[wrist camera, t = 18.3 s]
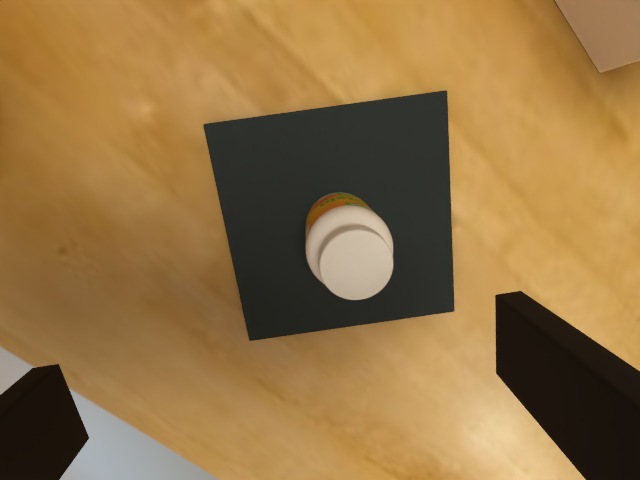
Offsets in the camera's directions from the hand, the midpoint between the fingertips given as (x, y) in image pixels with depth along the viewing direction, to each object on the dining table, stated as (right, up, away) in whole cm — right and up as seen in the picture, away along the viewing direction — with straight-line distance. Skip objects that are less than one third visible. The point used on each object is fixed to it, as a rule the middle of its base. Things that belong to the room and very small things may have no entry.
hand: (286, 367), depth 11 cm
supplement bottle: (+3, +5, +17) cm, 18 cm away
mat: (+3, +5, +18) cm, 19 cm away
